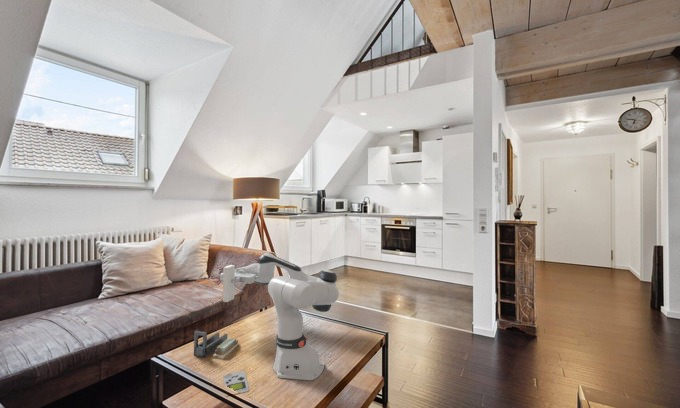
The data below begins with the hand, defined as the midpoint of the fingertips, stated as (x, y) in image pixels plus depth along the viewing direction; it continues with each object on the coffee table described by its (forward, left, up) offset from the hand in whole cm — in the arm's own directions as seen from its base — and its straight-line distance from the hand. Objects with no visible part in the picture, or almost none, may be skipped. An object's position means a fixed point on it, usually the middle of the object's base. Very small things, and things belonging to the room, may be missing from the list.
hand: (229, 281), depth 159 cm
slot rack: (0, +12, -30) cm, 32 cm away
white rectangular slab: (0, 0, -10) cm, 10 cm away
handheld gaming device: (-28, +32, -30) cm, 52 cm away
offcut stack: (-8, +12, -30) cm, 34 cm away
